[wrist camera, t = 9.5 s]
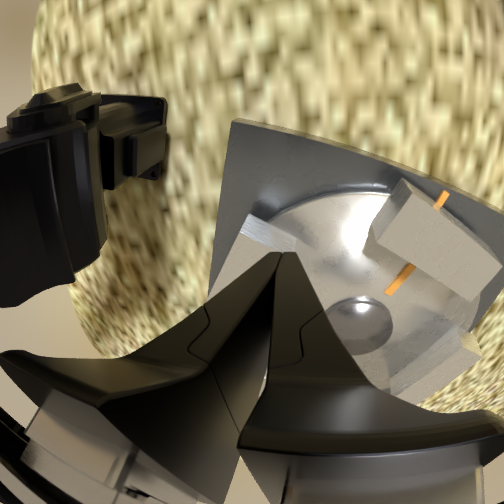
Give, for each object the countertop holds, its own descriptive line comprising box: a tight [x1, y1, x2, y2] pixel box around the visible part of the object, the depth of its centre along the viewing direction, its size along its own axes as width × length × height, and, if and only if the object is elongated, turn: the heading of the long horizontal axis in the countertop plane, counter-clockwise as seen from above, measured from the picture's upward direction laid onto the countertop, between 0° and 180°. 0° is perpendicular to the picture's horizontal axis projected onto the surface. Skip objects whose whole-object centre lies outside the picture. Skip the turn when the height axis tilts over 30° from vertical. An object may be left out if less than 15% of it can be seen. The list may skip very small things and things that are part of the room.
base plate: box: [208, 118, 504, 394], centre depth 24 cm, size 25×25×2 cm
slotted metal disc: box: [205, 178, 503, 405], centre depth 22 cm, size 23×23×4 cm
